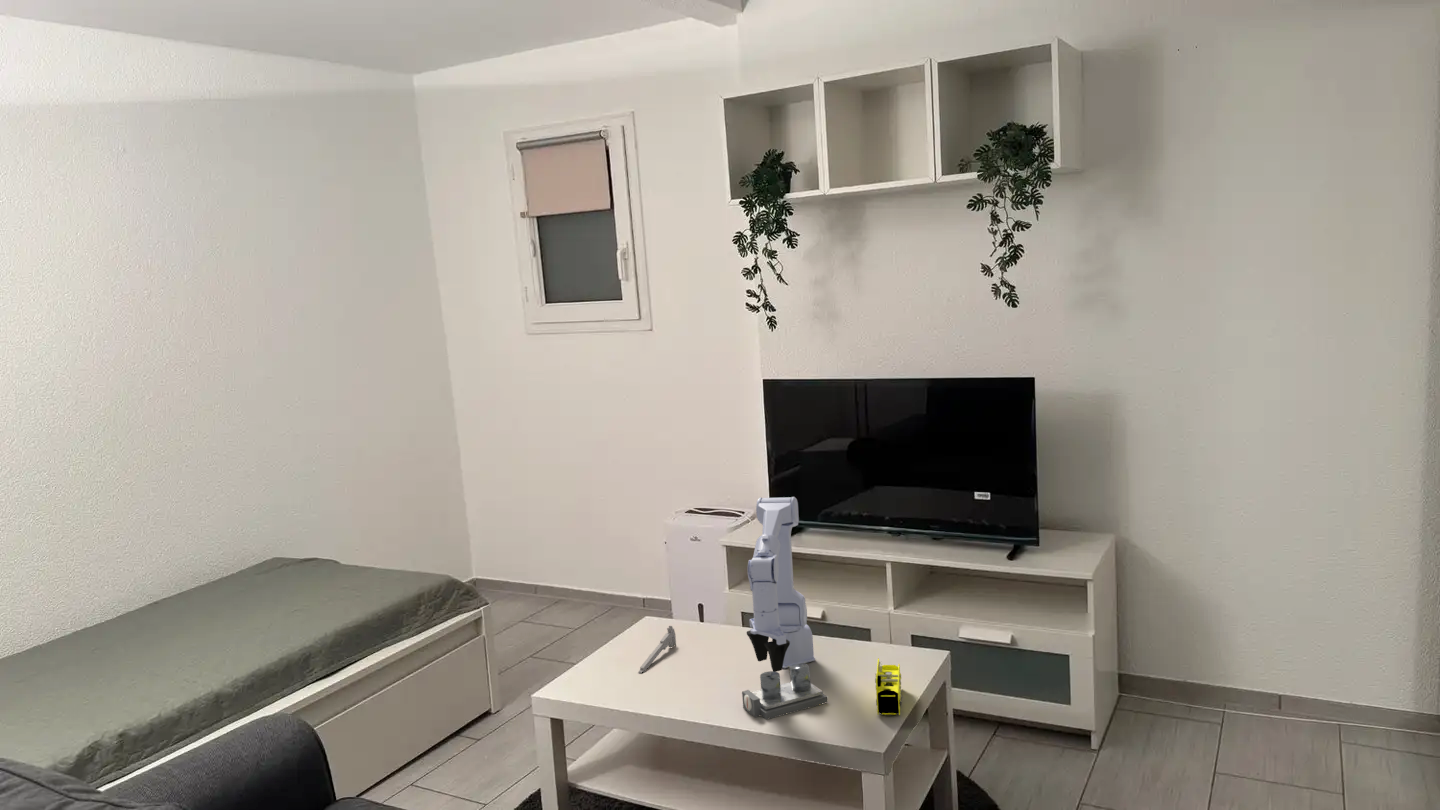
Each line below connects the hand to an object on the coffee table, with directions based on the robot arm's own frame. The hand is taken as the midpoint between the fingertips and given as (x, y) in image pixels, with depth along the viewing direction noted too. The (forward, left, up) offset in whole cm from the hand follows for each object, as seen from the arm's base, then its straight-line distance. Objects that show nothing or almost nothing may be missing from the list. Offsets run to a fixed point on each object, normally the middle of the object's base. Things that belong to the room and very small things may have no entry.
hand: (769, 665), depth 240 cm
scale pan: (-4, 0, -8) cm, 9 cm away
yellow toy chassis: (-23, +13, -10) cm, 29 cm away
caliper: (+12, -44, -10) cm, 46 cm away
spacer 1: (0, 0, -7) cm, 7 cm away
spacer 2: (-8, 0, -7) cm, 11 cm away
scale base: (-4, 0, -10) cm, 11 cm away
